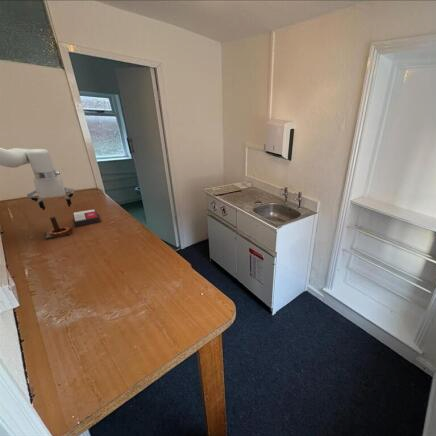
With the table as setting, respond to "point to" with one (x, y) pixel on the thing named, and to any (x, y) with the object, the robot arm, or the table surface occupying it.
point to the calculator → (85, 217)
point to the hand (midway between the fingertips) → (57, 207)
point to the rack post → (56, 229)
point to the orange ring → (59, 232)
